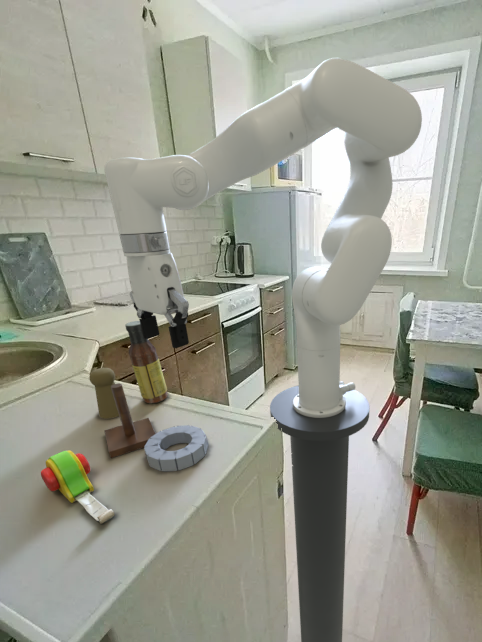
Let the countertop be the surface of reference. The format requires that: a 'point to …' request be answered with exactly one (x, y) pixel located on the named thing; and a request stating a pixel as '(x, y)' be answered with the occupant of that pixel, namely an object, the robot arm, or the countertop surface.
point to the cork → (104, 392)
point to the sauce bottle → (146, 365)
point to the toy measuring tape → (74, 482)
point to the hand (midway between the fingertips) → (165, 341)
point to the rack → (127, 428)
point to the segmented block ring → (179, 457)
